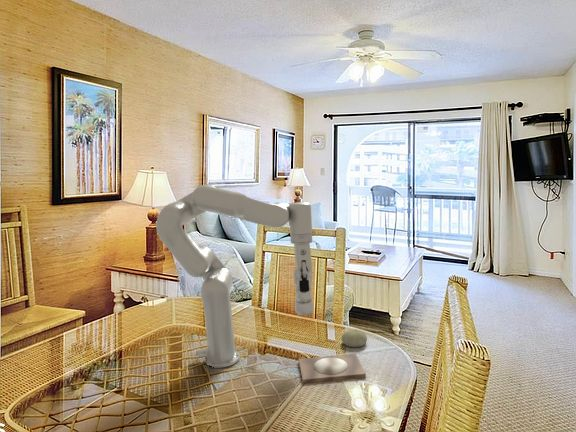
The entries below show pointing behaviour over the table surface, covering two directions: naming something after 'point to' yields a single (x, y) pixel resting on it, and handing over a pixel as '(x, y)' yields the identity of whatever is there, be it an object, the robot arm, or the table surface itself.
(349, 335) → the sea urchin shell
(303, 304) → the plastic bottle
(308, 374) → the walnut board
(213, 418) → the table surface
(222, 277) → the robot arm
